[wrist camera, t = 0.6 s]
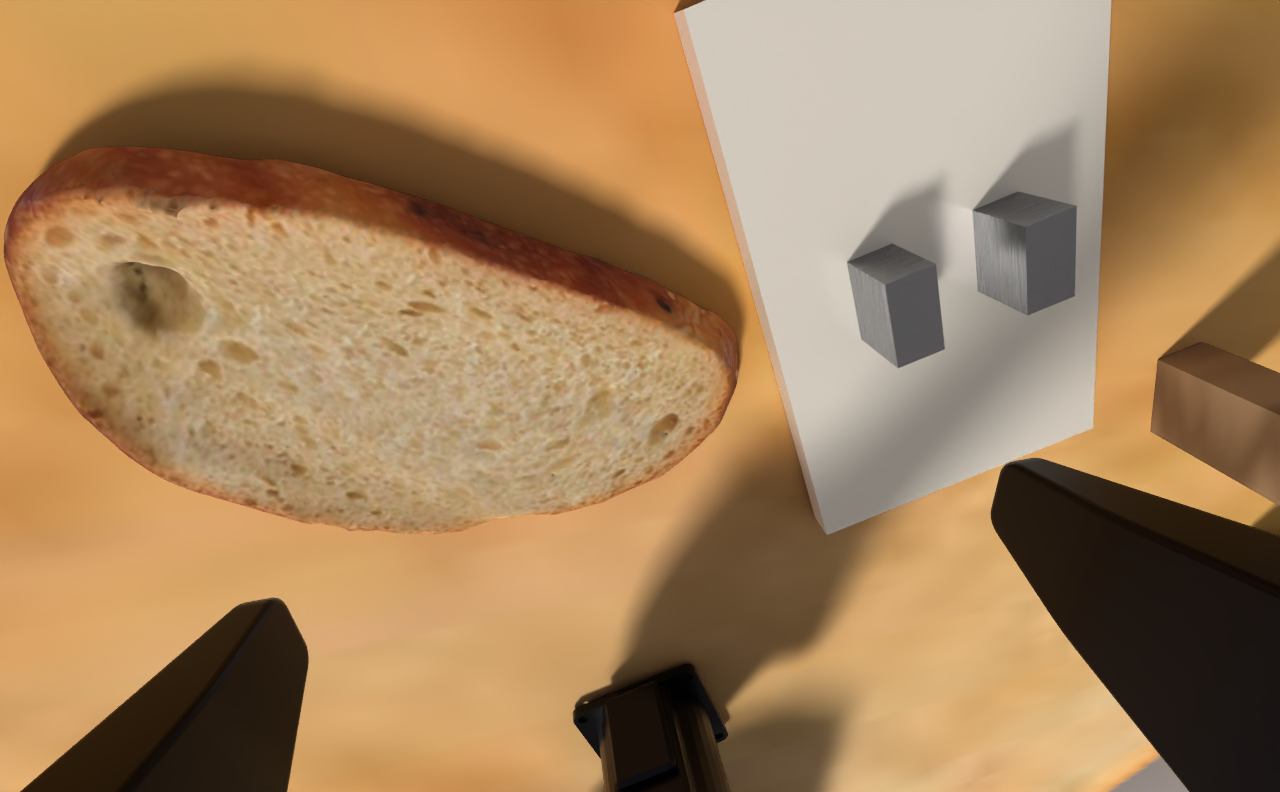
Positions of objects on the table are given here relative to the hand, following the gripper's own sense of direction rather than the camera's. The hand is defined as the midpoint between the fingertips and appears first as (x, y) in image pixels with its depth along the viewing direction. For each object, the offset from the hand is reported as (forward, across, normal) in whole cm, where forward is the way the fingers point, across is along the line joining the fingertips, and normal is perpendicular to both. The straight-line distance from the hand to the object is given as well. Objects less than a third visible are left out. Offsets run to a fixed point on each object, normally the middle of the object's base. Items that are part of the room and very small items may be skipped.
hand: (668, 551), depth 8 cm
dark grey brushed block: (+13, -12, +2) cm, 17 cm away
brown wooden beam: (+14, -26, +9) cm, 30 cm away
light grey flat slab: (+14, -12, +2) cm, 18 cm away
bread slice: (+14, +5, +2) cm, 16 cm away
